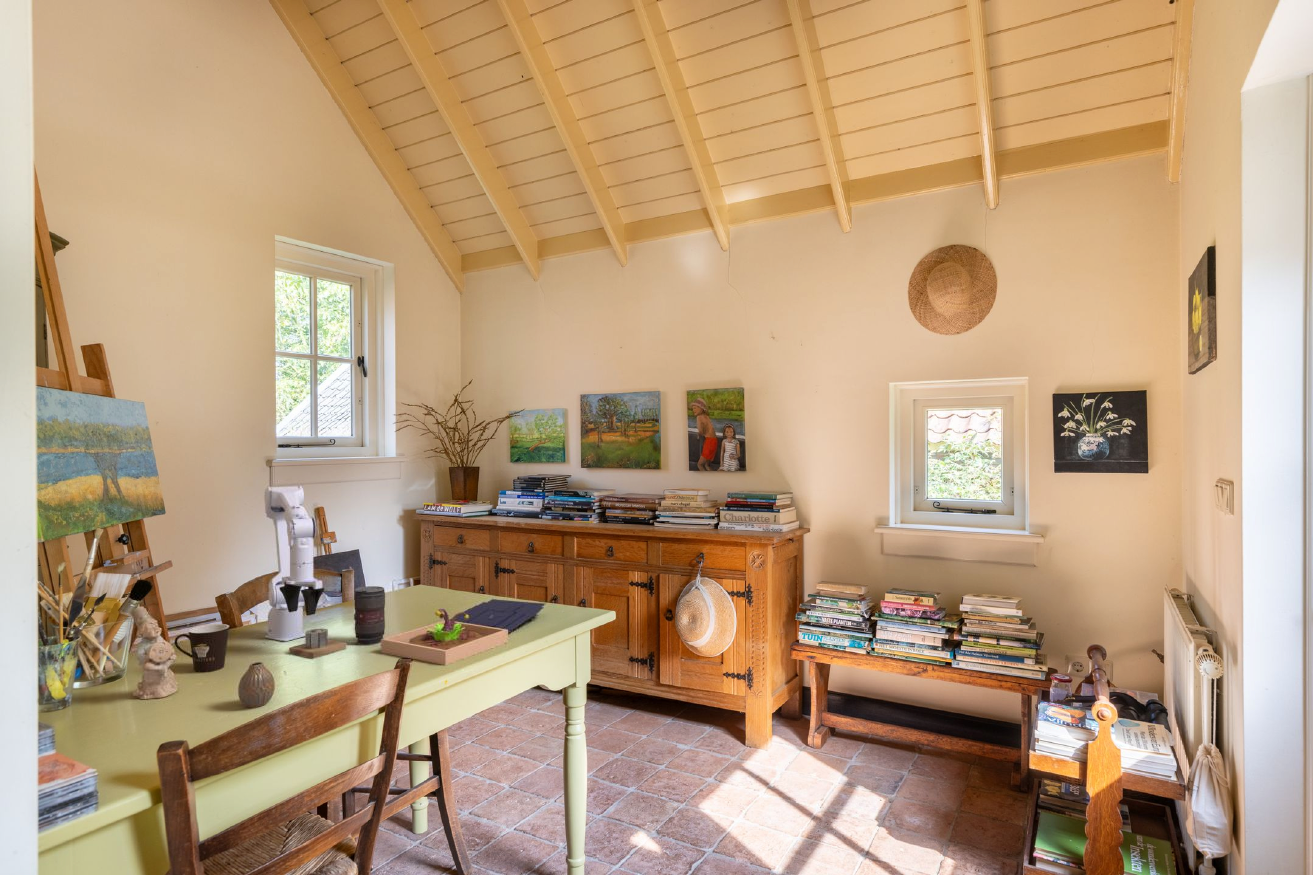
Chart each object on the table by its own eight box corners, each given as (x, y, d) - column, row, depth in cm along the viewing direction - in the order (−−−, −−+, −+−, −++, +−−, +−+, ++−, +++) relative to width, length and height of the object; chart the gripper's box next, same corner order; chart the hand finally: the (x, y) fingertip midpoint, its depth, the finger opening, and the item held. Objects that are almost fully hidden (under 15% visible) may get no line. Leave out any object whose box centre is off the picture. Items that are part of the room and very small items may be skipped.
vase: (247, 699, 158) (247, 659, 158) (280, 698, 159) (280, 658, 159) (231, 710, 151) (231, 668, 152) (266, 709, 152) (266, 667, 152)
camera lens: (373, 646, 199) (372, 592, 198) (348, 644, 201) (347, 590, 201) (391, 638, 206) (391, 586, 206) (367, 636, 209) (367, 584, 208)
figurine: (123, 697, 160) (123, 607, 160) (163, 685, 167) (163, 599, 168) (148, 703, 156) (148, 610, 156) (187, 691, 164) (187, 602, 164)
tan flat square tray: (381, 652, 193) (381, 639, 193) (446, 631, 214) (446, 620, 214) (445, 665, 182) (445, 651, 182) (507, 642, 202) (507, 629, 202)
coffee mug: (237, 665, 183) (237, 625, 183) (206, 675, 175) (206, 634, 175) (203, 660, 187) (203, 622, 187) (171, 670, 178) (171, 630, 178)
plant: (395, 648, 198) (395, 607, 198) (460, 634, 212) (460, 596, 212) (428, 664, 184) (428, 620, 184) (496, 649, 197) (496, 607, 197)
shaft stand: (289, 653, 193) (289, 632, 193) (322, 643, 202) (322, 624, 202) (313, 658, 188) (313, 637, 188) (346, 648, 197) (346, 628, 197)
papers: (552, 612, 234) (551, 601, 233) (500, 648, 206) (499, 636, 206) (488, 606, 242) (487, 596, 242) (430, 640, 215) (429, 628, 214)
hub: (301, 646, 194) (301, 631, 194) (319, 642, 198) (319, 627, 198) (313, 649, 191) (313, 634, 191) (331, 644, 195) (331, 629, 195)
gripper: (271, 562, 195) (271, 613, 195) (305, 567, 188) (305, 619, 188) (295, 559, 201) (295, 607, 201) (329, 563, 194) (329, 613, 194)
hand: (301, 613), depth 195 cm, fingers open, 7 cm apart
